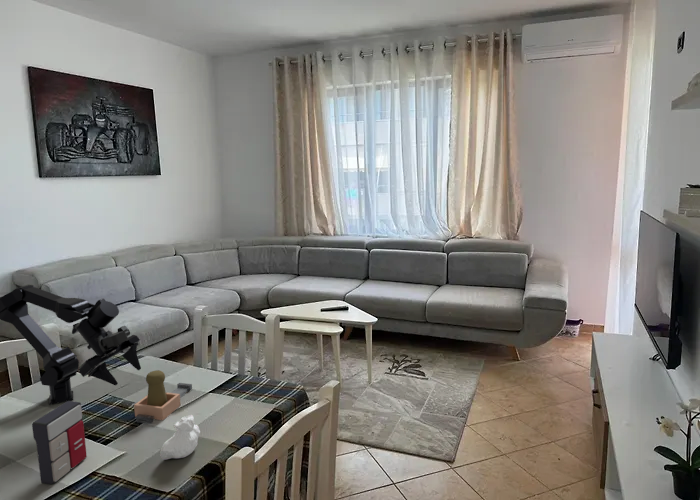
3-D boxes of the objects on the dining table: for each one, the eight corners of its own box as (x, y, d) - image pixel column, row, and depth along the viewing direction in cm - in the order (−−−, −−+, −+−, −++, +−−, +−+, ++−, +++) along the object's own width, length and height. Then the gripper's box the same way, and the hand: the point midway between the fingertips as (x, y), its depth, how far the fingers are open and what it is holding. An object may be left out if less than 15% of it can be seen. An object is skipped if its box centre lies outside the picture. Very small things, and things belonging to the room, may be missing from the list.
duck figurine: (165, 474, 118) (184, 448, 114) (146, 450, 120) (164, 424, 116) (201, 449, 129) (219, 424, 124) (183, 427, 131) (201, 402, 126)
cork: (145, 404, 146) (143, 370, 144) (167, 400, 148) (165, 366, 146) (147, 414, 140) (144, 378, 138) (169, 409, 143) (167, 374, 141)
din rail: (136, 422, 138) (136, 416, 138) (179, 387, 159) (179, 382, 159) (150, 423, 137) (150, 417, 137) (192, 389, 158) (191, 384, 158)
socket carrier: (135, 416, 141) (134, 404, 141) (154, 402, 150) (153, 390, 149) (162, 420, 139) (162, 408, 139) (180, 405, 148) (179, 393, 147)
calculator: (54, 485, 111) (47, 425, 108) (38, 483, 112) (31, 423, 109) (89, 457, 121) (83, 401, 119) (74, 455, 122) (68, 400, 120)
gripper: (82, 334, 133) (118, 379, 132) (132, 310, 150) (164, 349, 149) (63, 355, 137) (98, 398, 137) (115, 329, 154) (145, 367, 154)
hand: (128, 376), depth 144 cm, fingers open, 9 cm apart
